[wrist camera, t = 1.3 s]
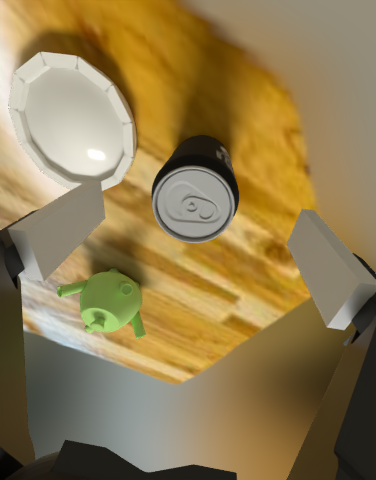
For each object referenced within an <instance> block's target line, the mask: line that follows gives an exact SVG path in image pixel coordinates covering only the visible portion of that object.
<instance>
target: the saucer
mask: <svg viewBox="0 0 376 480" xmlns="http://www.w3.org/2000/svg"><path fill="white" fill-rule="evenodd" d="M15 72H16V73H14V76H13V82H12V87H11V93H10V98H9V104H8V106H9V107H10V108H8V109H9V112H10V115H11V118H12V122H13V125H14V128H15V132H16V135H17V138H18V141H19V142H20V143H21V144H20V145H21V146H22V148H23V149H24V150H25V152H26V153H27V154H28V155H29V157H30V158H31V159H32V161H33V162H34V163H35V165H36V166H37V167H38V168H39V170H40V171H43V172H42V173H43V174H45V175H46V176H48V177H50V178H51V179H53V180H54V181H56V182H58V183H59V184H61V185H62V186H64V187H66V188H67V189H70V190H72V189H74V188H76V187H77V186H79V185H81V184H82V183H84V182H86V181H87V180H89V179H92V180H99V181H101V186H102V191H103V190H105V189H108V188H110V187H112V186H114V185H116V184H119V183H120V182H121V181H122V180H123V178H124V177H125V175H126V174H127V173H128V171H129V169H130V168H131V166H132V164H133V162H134V159H135V155H136V150H137V131H136V125H135V121H134V118H133V114H132V112H131V109H130V107H129V105H128V103H127V101H126V99H125V97H124V96H123V94H122V93H121V91H120V90H119V88H118V87H117V86H116V85H115V83H114V82H113V81H112V80H111V79H110V78H109V77H108V76H107V75H106V74H104V73H103V72H102V71H101V70H99V69H98V68H96V67H95V66H93V65H91V64H90V63H89V62H87V61H86V60H85V59H84V58H81V57H79V56H74V55H66V54H57V53H49V52H39V53H37V54H36V55H35V56H34V57H32V58H31V59H30V60H29V61H27V62H26V63H25V64H24V65H22V66H21V67H20V68H19V69H17V70H16V71H15Z"/></svg>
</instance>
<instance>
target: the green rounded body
mask: <svg viewBox="0 0 376 480" xmlns="http://www.w3.org/2000/svg"><path fill="white" fill-rule="evenodd" d="M139 287H140V284H139V283H138V282H135V281H133V280H131V279H130V278H129V277H127V276H125V275H123V274H121V273H119V271H118V270H117V269H115V268H111V269H110V270H109V272H101V273H97V274H95V275H93V276H91V277H90V278H89V279H88V280H85V281H81V282H76V283H72V284H67V285H63V286H58V287H57V294H58V296H59V297H63V296H67V295H71V294H74V293H78V292H81V296H80V312H81V317H82V319H83V321H84V322H85V323H86V326H85V330H86V331H87V332H89V333H92V332H93V331H94V330H95V331H101V332H113V331H115V330H117V329H119V328H121V327H122V326H124V325H125V324H126V323H128V322H129V321H130V320H131V322H132V325H133V329H134V332H135V336H136V339H138V338H141V337H144V336H145V335H146V334H145V330H144V327H143V323H142V320H141V317H140V313H139V309H140V307H141V304H142V294H141V291H140V289H139Z"/></svg>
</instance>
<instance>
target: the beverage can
mask: <svg viewBox="0 0 376 480" xmlns="http://www.w3.org/2000/svg"><path fill="white" fill-rule="evenodd" d="M238 203H239V190H238V186H237V182H236V178H235V175H234V171H233V168H232V164H231V161H230V157H229V154H228V152H227V150H226V148H225V147H224V146H223V145H222V144H221V143H220V142H219V141H218V140H216V139H214V138H212V137H209V136H203V135H200V136H194V137H191V138H189V139H187V140H185V141H184V142H183V143H182V144H181V145H180V146H179V147H178V148H177V149H176V151H175V152H174V153H173V155H172V156H171V157H170V158H169V160H168V161H167V162H166V163H165V165H164V166H163V167H162V169H161V170H160V171H159V172H158V174H157V176H156V178H155V180H154V183H153V186H152V205H153V212H154V216H155V218H156V220H157V222H158V224H159V225H160V226H161V228H162V229H163V230H164V231H165V232H166V233H167V234H169V235H170V236H172V237H173V238H175V239H178V240H180V241H183V242H188V243H201V242H206V241H209V240H212V239H214V238H216V237H218V236H219V235H220V234H222V233H223V232H224V231H225V230H226V228H227V227H228V226H229V224H230V223H231V220H232V218H233V217H234V215H235V213H236V211H237V207H238Z"/></svg>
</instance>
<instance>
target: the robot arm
mask: <svg viewBox="0 0 376 480" xmlns="http://www.w3.org/2000/svg"><path fill="white" fill-rule="evenodd" d="M104 219H105V210H104V202H103V194H102V186H101V181H99V180H92V179H89V180H87V181H86V182H84V183H82V184H81V185H79V186H77V187H76V188H74V189H72V190H71V191H69V192H67V193H66V194H64V195H63V196H61V197H59V198H58V199H56V200H54V201H53V202H51V203H49V204H48V205H46V206H44V207H43V208H41V209H38V210H35V211H32V212H31V213H29V214H27V215H26V216H25V217H22V218H21V219H19V220H18V221H15V222H14V223H12V224H10V225H9V226H7V227H5V228H4V229H2V230H0V480H237V475H236V473H235V472H230V471H224V470H219V469H214V468H209V467H204V466H199V465H188V466H183V467H178V468H173V469H166V470H161V471H156V472H149V473H148V472H144V471H142V470H140V469H139V468H137V467H135V466H134V465H132V464H131V463H129V462H127V461H126V460H124V459H123V458H121V457H120V456H118V455H117V454H115V453H114V452H112V451H110V450H109V449H107V448H105V447H100V446H95V445H89V444H84V443H79V442H74V441H68V440H65V442H64V444H63V446H62V448H61V450H60V451H59V452H55V453H52V454H49V455H46V456H43V457H41V458H39V459H37V460H35V452H34V448H33V443H32V441H31V437H30V434H29V428H28V413H27V394H26V376H25V356H24V338H23V318H22V299H21V280H20V278H19V276H18V274H19V273H21V272H22V271H23V270H25V272H26V274H27V277H28V279H32V280H38V281H45V280H46V279H47V278H48V277H49V276H50V275H51V274H52V273H53V272H54V270H55V269H56V268H57V267H58V266H59V265H60V264H61V263H62V262H63V261H64V260H65V259H66V258H67V257H68V256H69V255H70V254H71V253H72V252H73V251H74V250H75V249H76V248H77V247H78V246H79V245H80V244H81V243H82V242H83V241H84V239H85V238H86V237H87V236H88V235H89V234H90V233H91V232H92V231H93V230H94V229H95V228H96V227H97V226H98V225H99V224H100V223H101V222H102V221H103V220H104ZM287 246H288V248H289V250H290V252H291V254H292V256H293V258H294V261H295V263H296V265H297V267H298V269H299V271H300V273H301V275H302V277H303V279H304V281H305V283H306V285H307V287H308V289H309V291H310V294H311V296H312V298H313V300H314V302H315V304H316V306H317V308H318V310H319V312H320V314H321V316H322V318H323V320H324V322H325V324H326V326H327V327H329V328H335V329H341V330H345V329H346V327H347V326H348V325H349V324H350V322H351V321H352V322H353V324H354V325H355V327H356V330H355V331H354V333H353V334H352V335H351V336H350V337H349V338H348V339H347V340H346V341H345V343H344V345H345V346H347V347H346V349H345V351H344V353H343V355H342V357H341V360H340V362H339V364H338V366H337V369H336V371H335V373H334V375H333V378H332V380H331V382H330V384H329V387H328V389H327V391H326V393H325V396H324V398H323V400H322V402H321V405H320V407H319V409H318V411H317V413H316V416H315V418H314V420H313V422H312V424H311V427H310V429H309V431H308V433H307V436H306V438H305V440H304V442H303V445H302V447H301V449H300V451H299V454H298V456H297V458H296V460H295V462H294V465H293V467H292V469H291V471H290V474H289V476H288V478H287V480H376V274H375V272H374V271H373V270H372V269H371V268H370V267H369V266H368V264H367V263H366V262H365V261H364V260H363V259H361V258H360V257H359V256H357V255H356V254H354V253H352V252H351V251H350V250H349V249H348V248H347V247H346V246H345V245H344V243H343V242H342V241H341V240H340V239H339V238H338V237H337V236H336V234H335V233H334V232H333V231H332V230H331V229H330V228H329V227H328V225H327V224H326V223H325V222H324V221H323V220H322V219H321V218H320V216H319V215H318V214H317V213H316V212H315V211H313V210H306V209H302V210H301V213H300V215H299V217H298V220H297V222H296V224H295V227H294V229H293V231H292V233H291V236H290V238H289V240H288V243H287Z"/></svg>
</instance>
